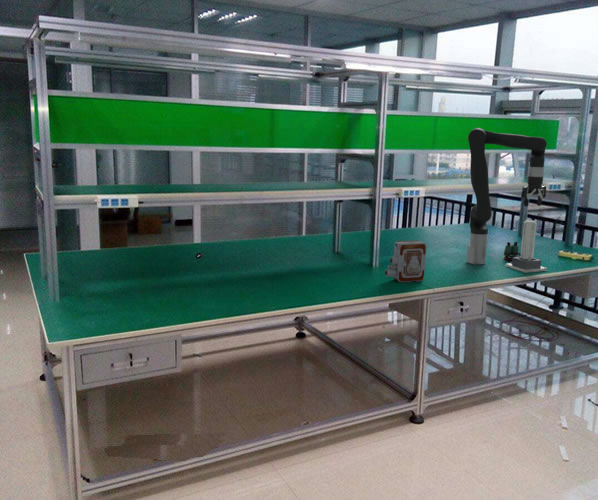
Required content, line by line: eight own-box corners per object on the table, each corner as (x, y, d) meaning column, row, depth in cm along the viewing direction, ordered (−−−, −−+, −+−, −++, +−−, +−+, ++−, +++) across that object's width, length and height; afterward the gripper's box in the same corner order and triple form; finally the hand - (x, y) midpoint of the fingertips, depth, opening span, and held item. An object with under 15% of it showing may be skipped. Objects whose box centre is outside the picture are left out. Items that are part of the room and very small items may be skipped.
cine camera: (381, 279, 279) (383, 240, 275) (417, 277, 283) (419, 238, 279) (388, 283, 270) (390, 243, 266) (425, 282, 274) (428, 242, 270)
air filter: (518, 266, 303) (523, 221, 298) (520, 263, 309) (524, 219, 303) (531, 267, 300) (536, 222, 295) (532, 265, 306) (537, 220, 301)
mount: (524, 272, 295) (525, 262, 294) (505, 266, 309) (506, 256, 308) (546, 270, 301) (547, 260, 300) (526, 264, 314) (527, 254, 313)
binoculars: (513, 246, 315) (503, 241, 325) (510, 263, 319) (500, 258, 328) (527, 245, 317) (517, 240, 327) (524, 263, 321) (514, 257, 330)
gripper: (530, 176, 288) (527, 207, 292) (551, 176, 293) (548, 206, 296) (520, 175, 295) (516, 205, 298) (541, 174, 300) (537, 204, 303)
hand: (532, 205), depth 297 cm, fingers open, 8 cm apart
